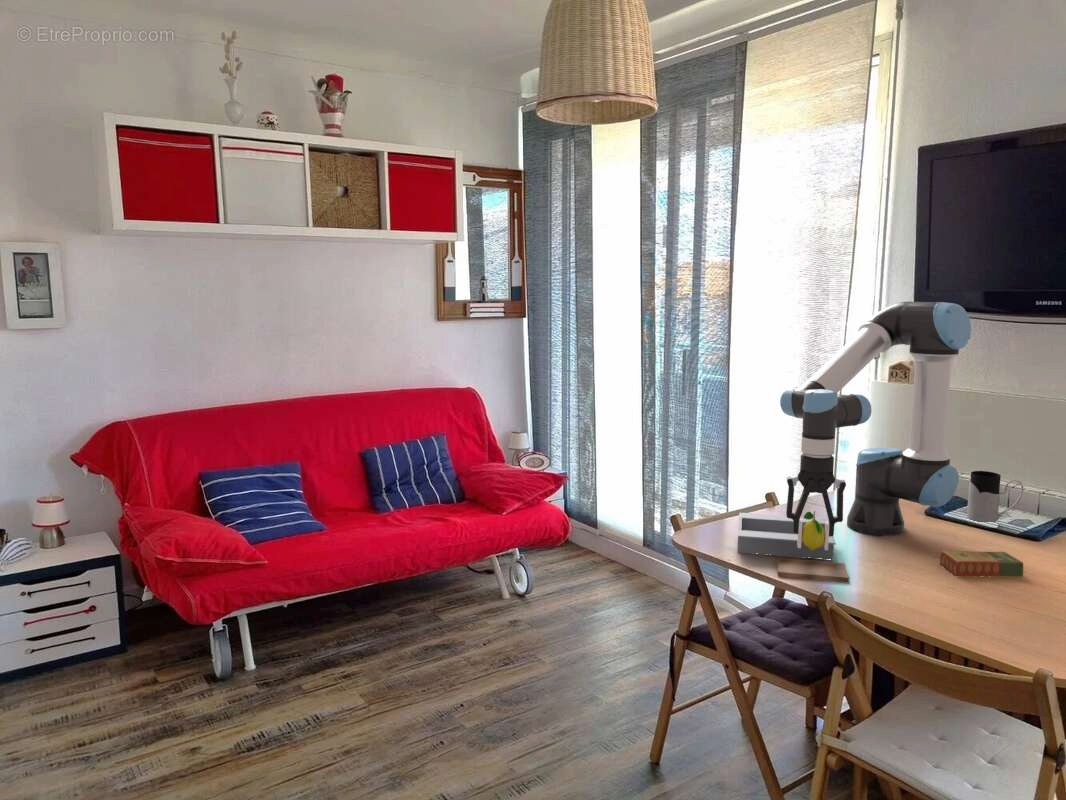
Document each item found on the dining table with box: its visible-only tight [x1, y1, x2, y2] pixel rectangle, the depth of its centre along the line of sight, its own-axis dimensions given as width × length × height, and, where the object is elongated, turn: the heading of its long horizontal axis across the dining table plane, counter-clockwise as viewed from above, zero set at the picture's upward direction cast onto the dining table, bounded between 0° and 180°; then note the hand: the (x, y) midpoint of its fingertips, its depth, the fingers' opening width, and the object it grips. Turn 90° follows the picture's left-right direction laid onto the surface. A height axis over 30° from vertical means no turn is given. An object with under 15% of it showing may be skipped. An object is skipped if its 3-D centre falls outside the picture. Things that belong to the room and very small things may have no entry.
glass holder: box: [966, 470, 1024, 522], centre depth 230 cm, size 9×14×15 cm, turn 74°
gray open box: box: [737, 512, 837, 561], centre depth 212 cm, size 24×21×6 cm
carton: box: [939, 550, 1024, 578], centre depth 195 cm, size 8×16×4 cm, turn 88°
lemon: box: [802, 510, 825, 551], centre depth 194 cm, size 7×6×10 cm
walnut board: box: [776, 557, 850, 583], centre depth 195 cm, size 16×10×1 cm, turn 75°
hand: (812, 547), depth 194 cm, fingers closed on lemon, 5 cm apart
